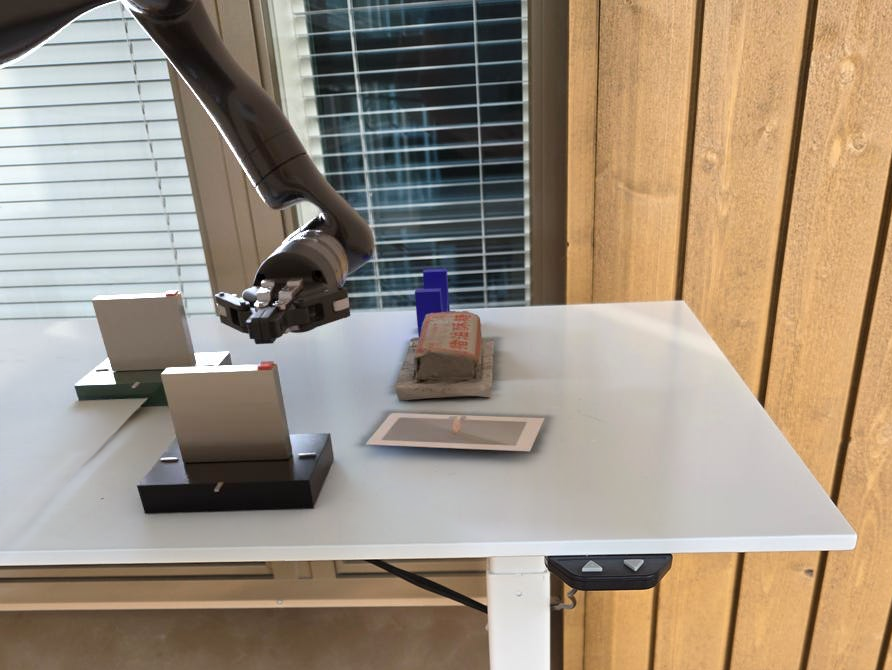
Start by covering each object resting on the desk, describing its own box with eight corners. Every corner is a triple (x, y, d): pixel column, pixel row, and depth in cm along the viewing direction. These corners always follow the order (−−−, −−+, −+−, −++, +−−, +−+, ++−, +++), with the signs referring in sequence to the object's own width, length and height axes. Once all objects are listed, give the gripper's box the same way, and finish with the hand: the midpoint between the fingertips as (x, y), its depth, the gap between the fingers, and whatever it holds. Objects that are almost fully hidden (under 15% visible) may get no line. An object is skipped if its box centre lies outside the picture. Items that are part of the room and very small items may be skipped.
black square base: (137, 522, 71) (128, 492, 69) (187, 457, 82) (180, 429, 80) (310, 517, 70) (304, 486, 69) (337, 452, 81) (332, 424, 80)
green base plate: (75, 413, 93) (67, 389, 92) (120, 373, 104) (114, 350, 102) (205, 409, 92) (199, 384, 91) (237, 369, 103) (232, 346, 102)
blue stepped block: (455, 342, 108) (452, 290, 105) (419, 343, 108) (414, 292, 105) (461, 315, 118) (458, 268, 114) (427, 317, 118) (424, 269, 115)
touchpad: (530, 463, 77) (529, 439, 76) (366, 455, 80) (364, 432, 79) (544, 429, 83) (544, 407, 82) (392, 423, 86) (390, 402, 85)
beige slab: (111, 371, 96) (90, 297, 92) (117, 366, 98) (96, 293, 93) (192, 368, 96) (175, 293, 91) (197, 363, 97) (180, 289, 93)
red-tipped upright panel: (182, 462, 74) (159, 371, 70) (188, 455, 75) (166, 364, 71) (288, 459, 74) (271, 366, 69) (292, 451, 75) (276, 360, 71)
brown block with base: (407, 309, 103) (492, 306, 103) (411, 351, 106) (494, 348, 105) (390, 356, 88) (490, 352, 88) (395, 403, 91) (492, 399, 91)
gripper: (228, 246, 87) (173, 289, 73) (361, 239, 87) (332, 281, 72) (244, 324, 92) (195, 379, 77) (370, 318, 91) (344, 372, 77)
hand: (261, 332), depth 75 cm, fingers closed
